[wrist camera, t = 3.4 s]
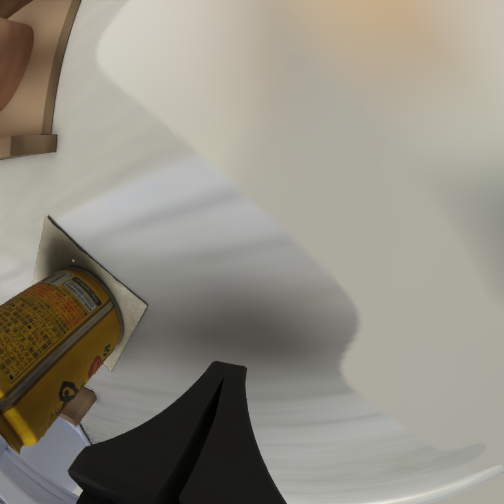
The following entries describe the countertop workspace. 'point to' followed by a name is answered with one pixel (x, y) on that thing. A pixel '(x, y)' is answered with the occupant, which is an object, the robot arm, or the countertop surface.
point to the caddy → (34, 95)
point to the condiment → (58, 336)
